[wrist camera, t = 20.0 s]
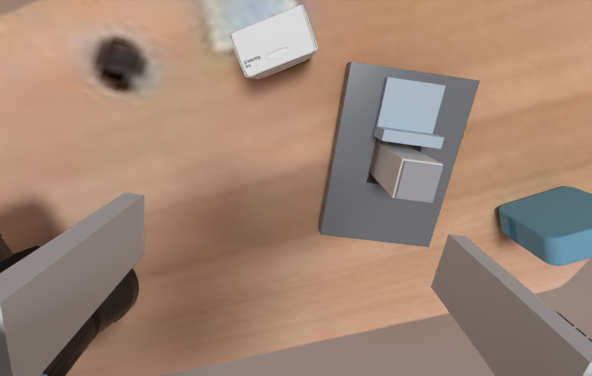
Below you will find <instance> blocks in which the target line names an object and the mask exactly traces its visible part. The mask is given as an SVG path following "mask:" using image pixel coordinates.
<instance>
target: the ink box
mask: <svg viewBox="0 0 592 376" xmlns="http://www.w3.org/2000/svg"><path fill="white" fill-rule="evenodd" d="M229 36H230V39H231V42H232V44H233V47H234V50H235V53H236V55H237V58H238V60H239V63H240V65H241V68H242V70H243V72H244V75H245V76H246V77H248V78H254V79H262V78H265V77H267V76H270V75H272V74H275V73H277V72H279V71H282V70H284V69H287V68H289V67H292V66H294V65H297V64H299V63H301V62H304V61H306V60H309V59H311V57H312V56H313V55H314V54H315V52H316V51H317V50H318V47H317V43H316V40H315V37H314V34H313V31H312V28H311V25H310V22H309V19H308V16H307V14H306V11H305V9H304V6H303V5H299V6H296V7H294V8H291V9H289V10H286V11H284V12H281V13H279V14H277V15H274V16H272V17H269V18H267V19H264V20H262V21H260V22H257V23H255V24H252V25H250V26H247V27H245V28H242V29H240V30H238V31H235V32H233V33H230V34H229Z"/></svg>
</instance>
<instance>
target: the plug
mask: <svg viewBox="0 0 592 376" xmlns="http://www.w3.org/2000/svg"><path fill="white" fill-rule="evenodd" d="M442 165H443V164H442V163H440V162H438V161H436V160H434V159H432V158H431V157H429V156H427V155H425V154H423V153H421V152H419V151H417V150H415V149H413V148H411V147H409V146H407V145H400V144H393V143H386V142H378V141H376V142H375V147H374V152H373V156H372V161H371V165H370V170H369V172H370V174H371V175H372V176H373V177H374V178H375V179H376V180H377V181H378V182H379V183H380V185H381V186H382V187H383V188H384V189H385V190H386V191H387V192H388V193H389V195H390V196H391V197H392V198H398V199H406V200H414V201H422V202H430V203H433V200H434V196H435V193H436V189H437V186H438V183H439V179H440V176H441V172H442V169H443V166H442Z"/></svg>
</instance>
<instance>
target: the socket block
mask: <svg viewBox="0 0 592 376" xmlns="http://www.w3.org/2000/svg"><path fill="white" fill-rule="evenodd" d="M386 77H391V78H398V79H405V80H411V81H418V82H425V83H432V84H438V85H445V86H446V87H445V90H444V94H443V98H442V101H441V105H440V108H439V112H438V116H437V119H436V123H435V127H434V130H433V134H435V135H438V136H441V137H444V141H443V144H442V147H441V149H438V148H431V147H423V146H416V145H414V146H413V149H415V150H417V151H419V152H421V153H423V154H425V155H427V156H429V157H431V158H432V159H434V160H436V161H438V162H440V163H442V164H443V165H442V166H443V169H442V172H441V176H440V179H439V183H438V186H437V189H436V193H435V196H434V200H433V203H430V202H422V201H414V200H406V199H398V198H392V197H391V196H390V195H389V193H388V192H387V191H386V190H385V189H384V188H383V187H382V186H381V185H380V183H379V182H378V181H377V180H376V179H371V178H367V177H368V172H369V168H370V163H371V159H372V154H373V149H374V145H375V140H376V137H375V136H374V132H375V127H376V122H377V118H378V113H379V108H380V104H381V99H382V94H383V90H384V85H385V80H386ZM478 85H479V81H478V80H471V79H464V78H458V77H451V76H444V75H438V74H431V73H424V72H417V71H411V70H404V69H397V68H391V67H384V66H377V65H371V64H364V63H357V62H349V63H348V64H347V69H346V75H345V81H344V87H343V92H342V98H341V104H340V109H339V115H338V121H337V126H336V132H335V138H334V144H333V149H332V155H331V161H330V166H329V172H328V178H327V184H326V189H325V195H324V201H323V206H322V212H321V218H320V224H319V229H320V234H321V235H329V236H338V237H346V238H355V239H364V240H372V241H381V242H390V243H398V244H407V245H415V246H424V247H429V245H430V241H431V238H432V235H433V231H434V228H435V225H436V222H437V218H438V215H439V212H440V209H441V205H442V202H443V199H444V196H445V192H446V189H447V186H448V183H449V179H450V176H451V173H452V169H453V166H454V163H455V160H456V156H457V153H458V150H459V147H460V143H461V140H462V137H463V134H464V130H465V127H466V124H467V120H468V117H469V114H470V111H471V107H472V104H473V101H474V98H475V94H476V91H477V88H478Z"/></svg>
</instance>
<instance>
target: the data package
mask: <svg viewBox="0 0 592 376" xmlns="http://www.w3.org/2000/svg"><path fill="white" fill-rule="evenodd" d="M499 216H500V223H501V230H502V232H503V233H504V234H505V235H507V236H508V237H510V238H511V239H512V240H514V241H515V242H517V243H518V244H520V245H521V246H523V247H524V248H525V249H527V250H528V251H530V252H531V253H533V254H534V255H535V256H537V257H538V258H540V259H541V260H543V261H544V262H546V263H548V264H551V265H557V266H561V265H567V264H570V263H574V262H577V261H581V260H584V259H588V258H591V257H592V194H590V193H588V192H585V191H582V190H579V189H576V188H573V187H559V188H555V189H552V190H549V191H546V192H542V193H539V194H536V195H533V196H529V197H526V198H523V199H520V200H516V201H513V202H510V203H507V204H504V205H501V206H500V207H499Z"/></svg>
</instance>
